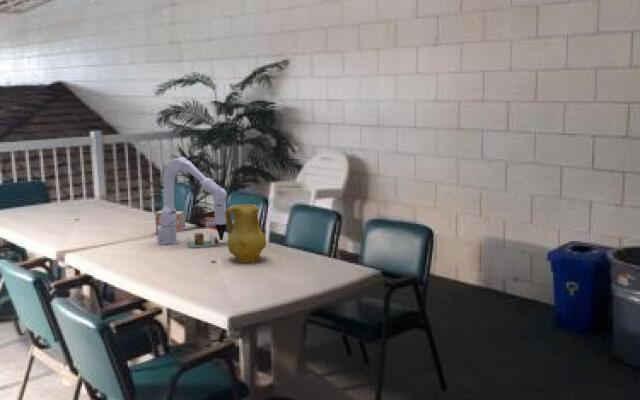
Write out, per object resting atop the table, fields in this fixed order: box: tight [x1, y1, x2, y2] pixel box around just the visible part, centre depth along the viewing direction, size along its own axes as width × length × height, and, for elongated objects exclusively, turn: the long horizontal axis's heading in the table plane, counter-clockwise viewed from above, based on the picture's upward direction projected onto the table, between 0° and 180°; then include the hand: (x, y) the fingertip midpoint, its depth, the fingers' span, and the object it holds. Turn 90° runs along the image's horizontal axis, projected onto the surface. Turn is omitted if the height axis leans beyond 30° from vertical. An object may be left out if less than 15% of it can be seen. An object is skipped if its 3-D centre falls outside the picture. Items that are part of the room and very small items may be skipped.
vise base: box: [187, 235, 221, 249], centre depth 325 cm, size 15×12×4 cm
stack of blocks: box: [154, 210, 186, 236], centre depth 358 cm, size 21×6×12 cm, turn 164°
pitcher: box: [225, 204, 267, 264], centre depth 295 cm, size 17×19×25 cm
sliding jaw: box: [208, 234, 219, 245], centre depth 326 cm, size 4×10×3 cm, turn 15°
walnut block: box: [194, 232, 205, 245], centre depth 324 cm, size 4×5×5 cm
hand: (221, 239), depth 327 cm, fingers closed
